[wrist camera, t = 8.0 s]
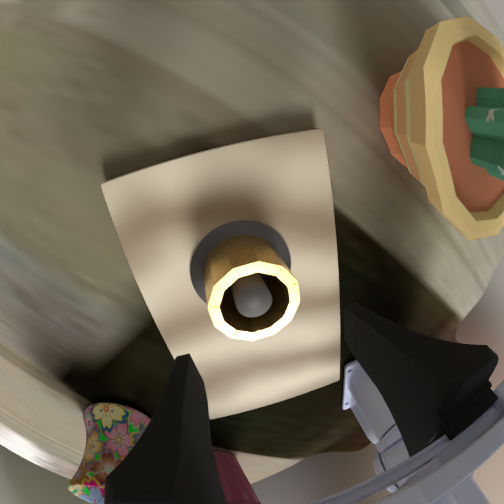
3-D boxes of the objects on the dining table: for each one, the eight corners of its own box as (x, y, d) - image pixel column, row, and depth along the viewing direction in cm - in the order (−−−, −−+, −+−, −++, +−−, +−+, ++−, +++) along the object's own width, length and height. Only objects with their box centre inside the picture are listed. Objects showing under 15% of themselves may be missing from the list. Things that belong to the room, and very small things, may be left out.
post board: (335, 372, 28) (355, 407, 23) (209, 410, 26) (215, 451, 22) (315, 128, 17) (356, 129, 13) (106, 181, 16) (76, 199, 11)
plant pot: (178, 481, 34) (186, 544, 22) (137, 448, 28) (139, 532, 16) (261, 467, 35) (281, 532, 24) (242, 432, 29) (267, 522, 18)
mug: (108, 440, 26) (104, 510, 17) (65, 397, 22) (47, 479, 13) (194, 430, 28) (205, 510, 18) (161, 385, 24) (163, 486, 14)
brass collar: (283, 291, 20) (303, 324, 17) (215, 310, 20) (222, 348, 16) (272, 226, 18) (293, 251, 14) (195, 247, 17) (197, 278, 14)
